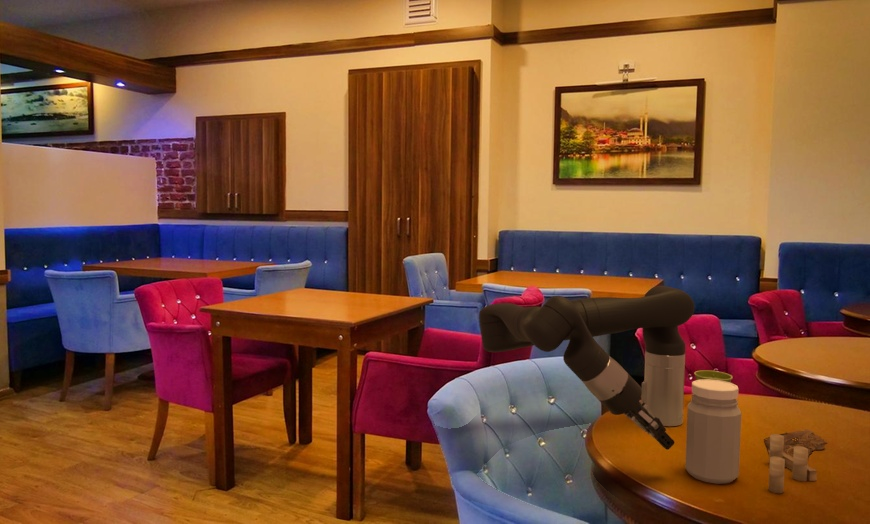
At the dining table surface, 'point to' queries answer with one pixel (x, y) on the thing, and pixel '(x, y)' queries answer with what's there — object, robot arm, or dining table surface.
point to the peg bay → (787, 464)
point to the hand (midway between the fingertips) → (669, 445)
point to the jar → (713, 432)
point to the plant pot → (712, 375)
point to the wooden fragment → (800, 442)
